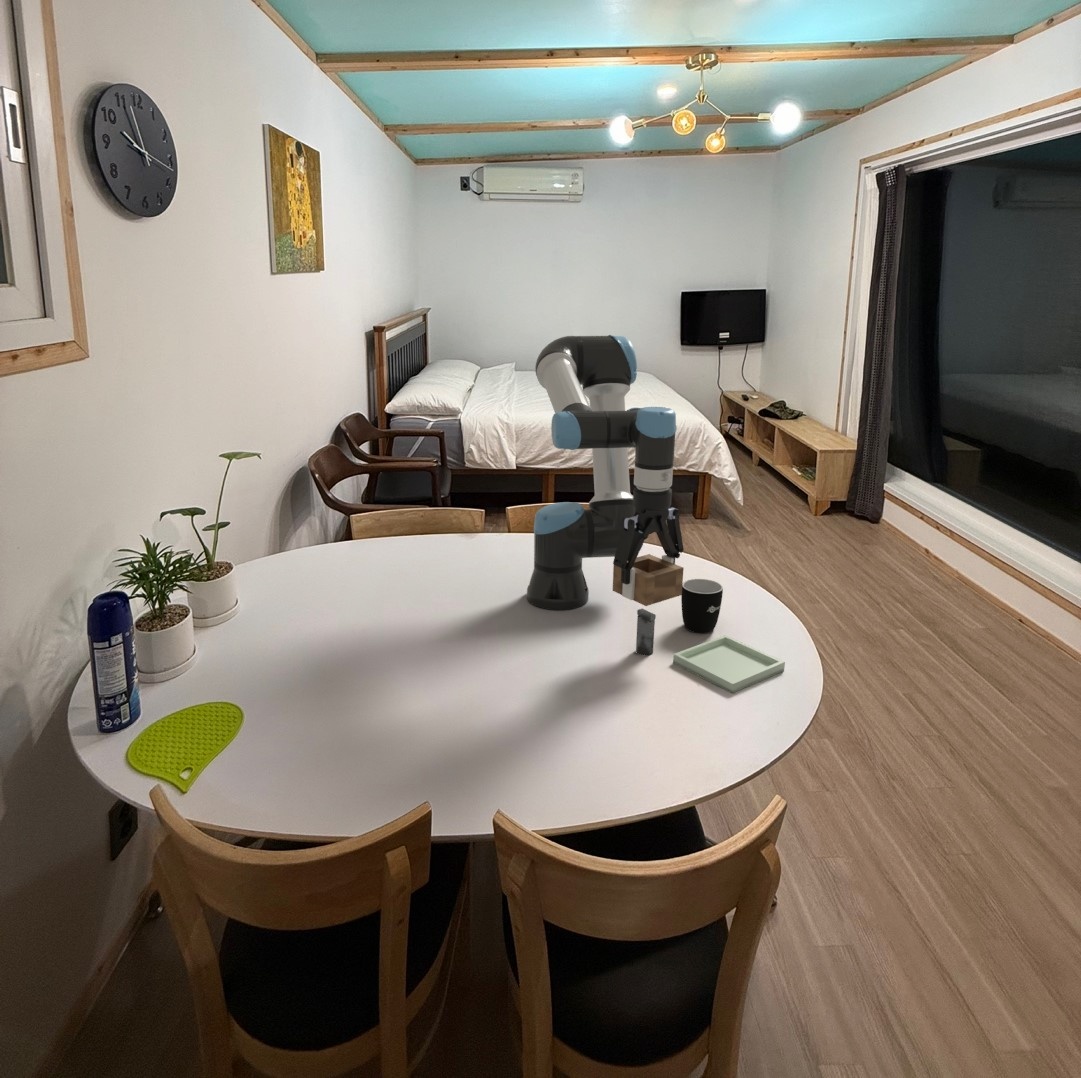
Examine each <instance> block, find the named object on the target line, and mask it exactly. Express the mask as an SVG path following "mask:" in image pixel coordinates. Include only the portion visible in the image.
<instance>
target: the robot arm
mask: <svg viewBox="0 0 1081 1078" xmlns="http://www.w3.org/2000/svg"><path fill="white" fill-rule="evenodd" d="M534 369H535V375H536V379H537V382H539V385H540V386H541V387H542V388H543V389H545V391H546V393H547V395H548V398H549V401H550V404H551V406H552V409H553V412H554V414H553V416H552V418H551V424H550V425H551V427H550V429H551V432H550V433H551V440H552V444H553V446H554V448H556V449H558V450H571V451H574V450H588V449H591V450H592V465H593V466H592V469H593V470H592V471H593V484H594V486H593V487H594V496H593V497H592V498H591V499H590V501H588V508H589V509H588V508H587V509H585V508H584V506H583V505H582V503H578V502H576V501H575V502H570V501H563V502H555V503H552V504H548V505H545V506H543V507H542V508H539V510H537V512H536V513H535V516H534V523H533V528H532V529H533V534H534V545H533V549H534V550H533V552H534V553H533V570H532V574H531V577H530V581H529V584H528V586H527V589H526V599H527V601H528V603H530V604H531V605H533V606H535V607H538V608H541V609H546V610H554V611H556V610H558V611H560V610H561V611H562V610H572V609H576V608H579V607H582V606H584V605H585V604H587V602H588V601H589V594H590V593H589V587H588V584H587V580H586V577H585V574H584V572H583V559H586V558H591V559H593V558H612V557H613V562H612V564H613V566H614V565H615V566H618V567H620V568H621V582H622V583H623V589H622V595H621V596H622V597H624V598H625V599H628V600H630V601H634V587H635V569H634V568H632V567H633V565H634V562H635V560H636V558H637V557H639V553H640V551H641V550H642V548H643V546H644V543H645V540H647V539H648V538H649V535H652V534H653V533H656V536H657V539H658V540H659V542H660V545H661V547H662V549H663V552H664V554H663V555H661V559H663V560H665V561H668V562H670V563H673V564H676V559H679V558H680V556H681V554H682V553H683V552H684V550H685V549H684V542H683V537H682V530H681V524H680V516H681V515H680V513H681V511H680V509H678V508H675V507H672V506H671V505H672V495H673V489H672V488H671V487H672V486H673V476H674V475H673V474H674V473H673V472H674V458H675V448H676V447H675V445H676V444H675V442H676V432H677V429H678V428H677V419H676V418H677V413H676V412H675V410H673V409H672V408H670V407H669V408H668V407H665V406H664V407H663V406H645V407H631V408H628V409H627V410H626V403H625V402H626V399H625V397H626V395H627V394H628V393H629V392H630V390H631V385H633V384H634V383H635V382H636V379H637V376H638V375H637V373H638V370H637V369H638V363H637V356H636V351H635V347H634V346H633V343H632V342H631V340H630V339H629V338H627V337H626V336H624V335H623V336H622V335H612V334H609V335H565V336H562V337H559V338H556V339H554V340H553V341H551V342H550V343H548V344H547V345H546V346H545V347H544V348H543V349H542V350H541V351H540V353H539V354H538V357H537V359H536V362H535V368H534ZM588 400H589V401H588ZM630 448H631V449H632V448H635V452H634V454H635V455H634V473H633V474H634V476H633V485H634V486H635V487H634V488H633V494H632V493H631V484H630V482H631V481H630V471H629V470H630V468H629V467H630V466H629V450H628V449H630ZM627 561H628V563H627Z"/></svg>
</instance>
